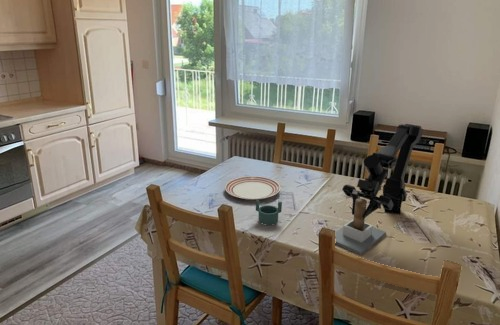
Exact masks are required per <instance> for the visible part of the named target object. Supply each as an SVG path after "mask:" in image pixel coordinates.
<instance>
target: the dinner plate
mask: <svg viewBox="0 0 500 325" xmlns="http://www.w3.org/2000/svg"><path fill="white" fill-rule="evenodd" d="M281 189H282V188H281V185H280V183H279V182H278V181H276V180H274V179H272V178H269V177H266V176H265V177H264V176H259V175H257V176H256V175H254V176H253V175H250V176H249V175H248V176H240V177H237V178H233V179H231V180H229V181H228V182H227V183H226V184H225V186H224V190H225V191H226V193H228V195H230V196H232V197H234V198H239V199H243V200H249V201H250V200H252V201H256V200H263V199H268V198H272V197H273V196H276V195H277V194H278V193H279V192H280V191H281Z"/></svg>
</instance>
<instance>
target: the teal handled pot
mask: <svg viewBox="0 0 500 325" xmlns="http://www.w3.org/2000/svg"><path fill="white" fill-rule="evenodd" d="M277 202H278V203H277V206H274V205H270V204H268V205H262V206H260V199H258V200H255V211H256V212H257V213H258V218H257V219H258V220H259V221H258V223H259V222H260V224H261V223H263V224H266V225H265V226H273V225H272V224H275V225H276V223H277V222H279V214H280V213H282V209H283V208H282V207H283V206H282V204H283V202H282V201H277ZM263 224H262V225H263ZM277 224H278V223H277Z"/></svg>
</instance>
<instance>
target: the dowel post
mask: <svg viewBox="0 0 500 325" xmlns="http://www.w3.org/2000/svg"><path fill="white" fill-rule="evenodd" d="M367 203H368V201H367V199H366V198H362V197H360V198H358V199H356V202H355V210H354V215H353V218H352V219H353V228H354V229H357V230H360V231H363V229H364V222H365V219H366V218H364V219H363V215H364V212H365V211H366V209H367Z"/></svg>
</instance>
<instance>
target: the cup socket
mask: <svg viewBox="0 0 500 325" xmlns="http://www.w3.org/2000/svg"><path fill="white" fill-rule="evenodd" d="M353 219H354V218H352V219H351V220H349V221H348V222H347V223H345V224H343V226H342V227H340V228H339V229H338V230H336V231H335V232H334V233H336V244H335V245H337V246H338V247H339V246H340V247H342V248H344V249H345V250H349V251H350V252H353V253H355V254H358V255H359V256H362V255H363V254H364V253H366V252H367V251H368V250H369V249H371V247H373V246H374V245H375V244H377V242H379V241H380V240H382V239H383V238H384V237H385V236H386V235H387V231H385V230H383V229H380V228H377V227H374V225H373V224H372V223H371V224H370V223H368V222H365V221H364V229H363V231H360V230H357V229H354V228H353Z"/></svg>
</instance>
